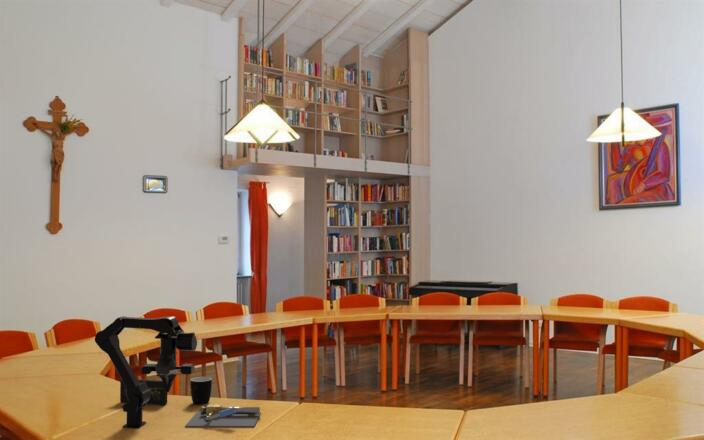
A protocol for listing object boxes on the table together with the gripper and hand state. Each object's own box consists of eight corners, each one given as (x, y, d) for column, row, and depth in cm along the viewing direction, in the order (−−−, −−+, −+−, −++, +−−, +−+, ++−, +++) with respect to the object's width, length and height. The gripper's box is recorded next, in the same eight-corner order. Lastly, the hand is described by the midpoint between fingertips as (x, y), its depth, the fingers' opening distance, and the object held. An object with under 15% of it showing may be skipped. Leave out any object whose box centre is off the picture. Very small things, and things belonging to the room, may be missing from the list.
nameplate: (167, 404, 264) (167, 380, 264) (165, 405, 262) (165, 381, 263) (122, 401, 268) (122, 378, 268) (120, 402, 266) (120, 379, 267)
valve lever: (203, 417, 233) (233, 407, 234) (204, 416, 235) (234, 406, 235) (205, 422, 233) (235, 412, 234) (206, 421, 235) (236, 411, 235)
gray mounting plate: (184, 427, 232) (184, 425, 232) (196, 413, 250) (196, 412, 250) (254, 427, 232) (254, 425, 232) (261, 413, 250) (261, 412, 250)
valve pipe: (195, 423, 235) (195, 412, 236) (202, 414, 247) (202, 404, 247) (255, 423, 236) (255, 412, 236) (260, 414, 247) (260, 404, 247)
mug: (195, 399, 271) (195, 376, 272) (214, 400, 270) (214, 377, 270) (183, 407, 259) (184, 382, 260) (204, 408, 258) (204, 383, 258)
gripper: (136, 354, 226) (135, 397, 225) (187, 354, 226) (187, 397, 225) (146, 348, 237) (145, 389, 236) (195, 348, 237) (194, 389, 236)
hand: (168, 391), depth 233 cm, fingers closed
